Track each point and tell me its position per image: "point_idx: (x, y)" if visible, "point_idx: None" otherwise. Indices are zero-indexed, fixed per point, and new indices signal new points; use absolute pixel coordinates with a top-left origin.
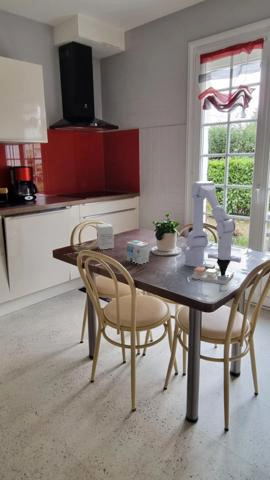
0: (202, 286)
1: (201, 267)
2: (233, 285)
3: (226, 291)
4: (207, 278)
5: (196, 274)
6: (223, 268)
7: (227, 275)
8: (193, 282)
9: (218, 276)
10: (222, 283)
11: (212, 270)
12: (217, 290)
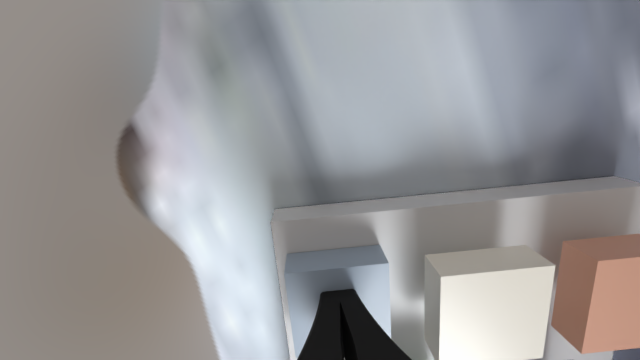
0: (462, 29)
1: (631, 342)
2: (209, 228)
3: (195, 44)
4: (473, 199)
5: (609, 231)
6: (331, 357)
7: (291, 321)
8: (578, 82)
9: (373, 259)
10: (308, 207)
11: (481, 324)
12: (285, 14)
